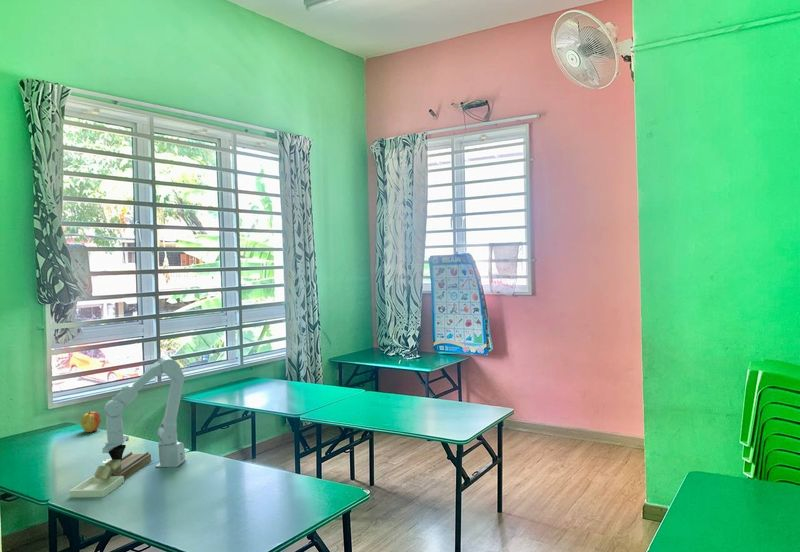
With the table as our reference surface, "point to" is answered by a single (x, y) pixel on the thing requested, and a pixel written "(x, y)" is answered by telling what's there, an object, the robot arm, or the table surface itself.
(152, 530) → the table surface
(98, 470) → the chip front
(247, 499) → the table surface
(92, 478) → the tray
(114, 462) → the beige cube
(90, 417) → the apple
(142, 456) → the slot block
